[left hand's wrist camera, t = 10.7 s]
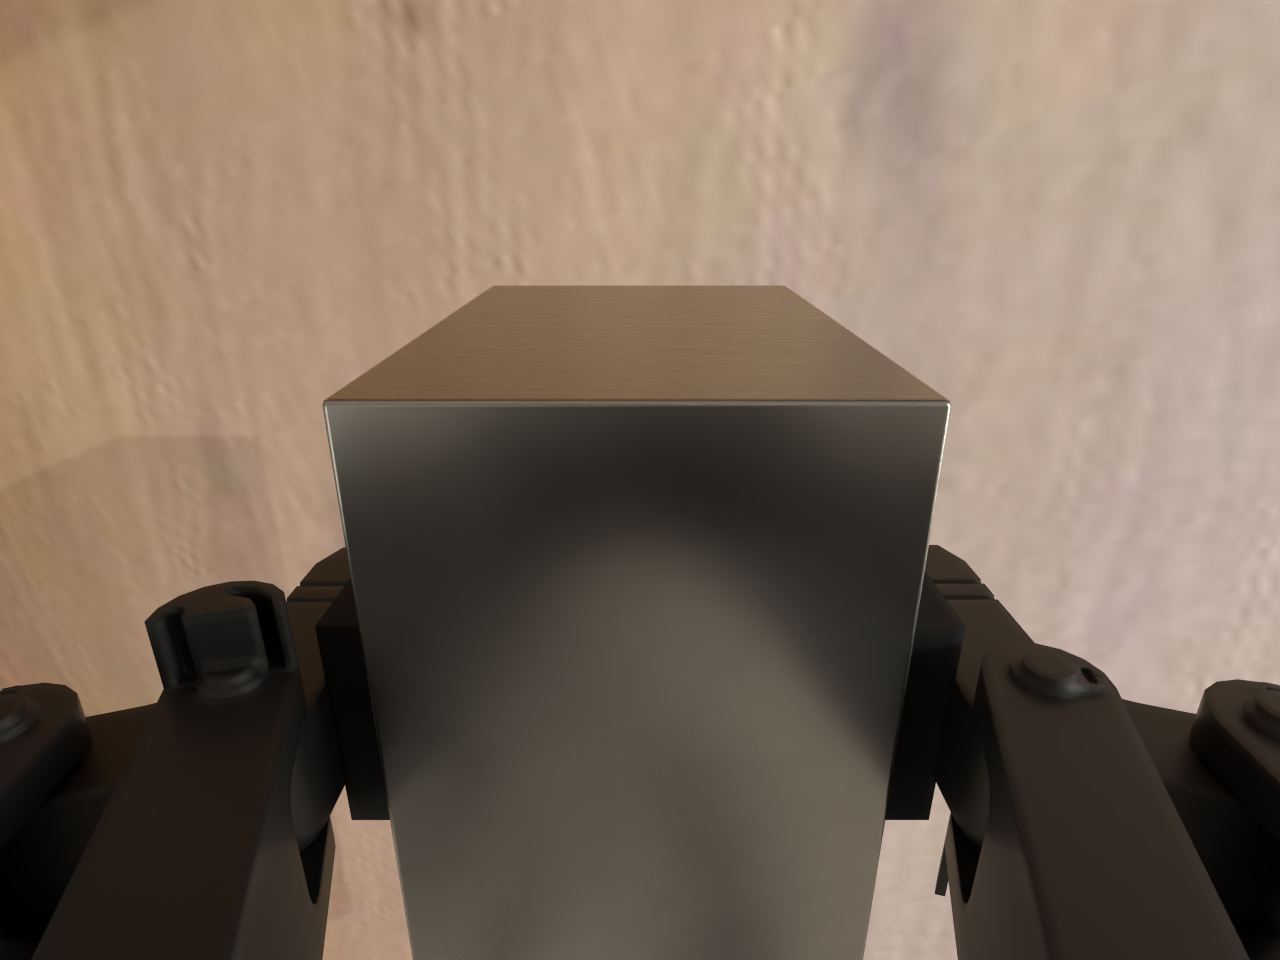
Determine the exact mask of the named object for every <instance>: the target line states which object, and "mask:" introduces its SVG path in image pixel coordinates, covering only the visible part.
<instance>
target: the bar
mask: <svg viewBox="0 0 1280 960" xmlns="http://www.w3.org/2000/svg"><path fill="white" fill-rule="evenodd" d="M950 408H951V404H950V401H949V400H948V399H947V398H945V397H944V396H942V395H941V394H939V393H938V392H937V391H935V390H934V389H932V388H931V387H929V386H928V385H926V384H925V383H924V382H922V381H921V380H919V379H918V378H916V377H915V376H914V375H912V374H911V373H909V372H908V371H906V370H905V369H904V368H902V367H901V366H899V365H898V364H896V363H895V362H894V361H892V360H891V359H889V358H888V357H886V356H885V355H883V354H882V353H881V352H879V351H878V350H876V349H875V348H873V347H872V346H871V345H869V344H868V343H866V342H865V341H863V340H862V339H861V338H859V337H858V336H856V335H855V334H853V333H852V332H850V331H849V330H848V329H846V328H845V327H843V326H842V325H840V324H839V323H838V322H836V321H835V320H833V319H832V318H830V317H829V316H828V315H826V314H825V313H823V312H822V311H820V310H819V309H818V308H816V307H815V306H813V305H812V304H810V303H809V302H807V301H806V300H805V299H803V298H802V297H800V296H799V295H797V294H796V293H795V292H793V291H792V290H790V289H789V288H787V287H786V286H492V287H491V288H489V289H488V290H486V291H485V292H483V293H482V294H480V295H479V296H477V297H476V298H475V299H473V300H472V301H470V302H469V303H467V304H466V305H464V306H463V307H461V308H460V309H458V310H457V311H455V312H454V313H452V314H451V315H449V316H448V317H447V318H445V319H444V320H442V321H441V322H439V323H438V324H436V325H435V326H433V327H432V328H430V329H429V330H427V331H426V332H424V333H423V334H421V335H420V336H419V337H417V338H416V339H414V340H413V341H411V342H410V343H408V344H407V345H405V346H404V347H402V348H401V349H399V350H398V351H396V352H395V353H393V354H392V355H391V356H389V357H388V358H386V359H385V360H383V361H382V362H380V363H379V364H377V365H376V366H374V367H373V368H371V369H370V370H368V371H367V372H365V373H364V374H362V375H361V376H360V377H358V378H357V379H355V380H354V381H352V382H351V383H349V384H348V385H346V386H345V387H343V388H342V389H340V390H339V391H337V392H336V393H334V394H333V395H332V396H330V397H329V398H327V399H326V400H324V402H323V411H324V417H325V423H326V429H327V436H328V442H329V448H330V454H331V460H332V466H333V472H334V479H335V485H336V491H337V497H338V503H339V509H340V515H341V521H342V528H343V534H344V540H345V546H346V552H347V558H348V564H349V571H350V577H351V583H352V589H353V595H354V601H355V607H356V613H357V620H358V626H359V632H360V638H361V644H362V650H363V656H364V663H365V669H366V675H367V681H368V687H369V693H370V699H371V706H372V712H373V718H374V724H375V730H376V736H377V742H378V748H379V755H380V761H381V767H382V773H383V779H384V785H385V791H386V798H387V804H388V810H389V816H390V822H391V828H392V834H393V841H394V847H395V853H396V859H397V865H398V871H399V877H400V883H401V890H402V896H403V902H404V908H405V914H406V920H407V926H408V933H409V939H410V945H411V951H412V957H413V960H863V956H864V950H865V943H866V937H867V931H868V924H869V918H870V912H871V906H872V899H873V893H874V887H875V880H876V874H877V868H878V862H879V855H880V849H881V843H882V836H883V830H884V824H885V817H886V811H887V805H888V799H889V792H890V786H891V780H892V773H893V767H894V761H895V754H896V748H897V742H898V736H899V729H900V723H901V717H902V710H903V704H904V698H905V692H906V685H907V679H908V673H909V666H910V660H911V654H912V647H913V641H914V635H915V629H916V622H917V616H918V610H919V603H920V597H921V591H922V585H923V578H924V572H925V566H926V559H927V553H928V547H929V540H930V534H931V528H932V522H933V515H934V509H935V503H936V496H937V490H938V484H939V477H940V471H941V465H942V459H943V452H944V446H945V440H946V433H947V427H948V421H949V415H950Z"/></svg>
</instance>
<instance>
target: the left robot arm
mask: <svg viewBox="0 0 1280 960" xmlns="http://www.w3.org/2000/svg"><path fill="white" fill-rule="evenodd" d="M145 625H146V629H147V632H148V636H149V639H150V642H151V646H152V649H153V653H154V656H155V660H156V663H157V667H158V670H159V673H160V677H161V680H162V684H163V687H164V690H163V692H162V694H161V696H160V698H159V700H158V702H157V703H154V704H150V705H146V706H141V707H136V708H131V709H126V710H121V711H116V712H110V713H105V714H100V715H95V716H90V717H85V715H84V712H83V709H82V706H81V703H80V700H79V698H78V695H77V693H76V692H74V691H73V690H72V689H70V688H69V687H67V686H66V685H59V684H51V683H39V684H31V685H23V686H13V687H9V688H4V689H2V691H0V960H322V957H323V949H324V940H325V932H326V923H327V915H328V906H329V898H330V889H331V880H332V872H333V863H334V855H335V840H334V834H333V828H332V824H331V819H330V814H331V812H332V810H333V808H334V806H335V804H336V802H337V800H338V798H339V796H340V794H341V792H342V790H343V787H344V785H345V786H346V792H347V797H348V802H349V807H350V813H351V818H352V820H390V816H389V810H388V804H387V798H386V791H385V785H384V779H383V773H382V767H381V761H380V755H379V748H378V742H377V736H376V730H375V724H374V718H373V712H372V706H371V699H370V693H369V687H368V681H367V675H366V669H365V663H364V656H363V650H362V644H361V638H360V632H359V626H358V620H357V613H356V607H355V601H354V595H353V589H352V583H351V577H350V571H349V564H348V558H347V552H346V548H342V549H340V550H338V551H337V552H335V553H333V554H332V555H330V556H328V557H327V558H325V559H323V560H322V561H320V562H318V563H316V564H315V566H314V567H313V568H312V569H311V570H310V572H309V573H308V574H307V575H306V576H305V577H304V579H303V580H302V581H301V582H300V586H297V587H296V588H295V589H294V590H293V592H292V593H291V594H290V595H289V596H288V598H287V602H286V599H285V595H284V592H283V591H282V590H280V589H279V588H278V587H276V586H275V585H273V584H269V583H264V582H258V581H234V582H226V583H221V584H216V585H211V586H206V587H203V588H200V589H197V590H194V591H192V592H189V593H186V594H183V595H181V596H178V597H177V598H175V599H173V600H171V601H170V602H168V603H166V604H164V605H163V606H161V607H159V608H158V609H157V610H156V611H155V612H154V613H153V614H152V615H151V616H150V617H149V618H148V619H147V620H146V621H145ZM936 783H937V785H938V787H939V789H940V791H941V793H942V795H943V797H944V799H945V801H946V803H947V805H948V807H949V809H950V811H951V814H950V819H949V824H948V828H947V833H946V838H945V843H944V848H943V853H942V858H941V862H940V867H939V872H938V877H937V883H936V889H935V894H937V895H942V896H945V893H946V889H947V884H948V881H949V887H950V896H951V904H952V913H953V921H954V930H955V938H956V947H957V955H958V960H1280V686H1279V685H1275V684H1270V683H1266V682H1254V681H1246V680H1238V679H1237V680H1229V681H1220V682H1216V683H1214V684H1213V685H1211V686H1210V687H1208V688H1207V689H1206V690H1205V691H1204V694H1203V697H1202V700H1201V703H1200V705H1199V708H1198V711H1197V714H1192V713H1187V712H1182V711H1177V710H1172V709H1167V708H1162V707H1156V706H1151V705H1146V704H1141V703H1136V702H1132V701H1128V700H1124V699H1121V696H1120V694H1119V692H1118V690H1117V688H1116V687H1115V686H1114V684H1113V683H1112V682H1111V681H1110V680H1109V678H1108V677H1107V676H1106V675H1105V673H1103V672H1102V671H1101V670H1099V669H1098V668H1096V667H1095V666H1093V665H1092V664H1090V663H1089V662H1087V661H1086V660H1084V659H1082V658H1080V657H1077V656H1075V655H1073V654H1070V653H1068V652H1066V651H1063V650H1061V649H1057V648H1053V647H1049V646H1044V645H1040V644H1036V643H1034V642H1033V641H1032V639H1031V638H1030V637H1029V636H1028V635H1027V633H1026V632H1025V631H1024V630H1023V629H1022V628H1021V626H1020V625H1019V624H1018V623H1017V622H1016V621H1015V619H1014V618H1013V617H1012V616H1011V615H1010V614H1009V612H1008V611H1007V610H1006V609H1005V608H1004V606H1003V605H1002V604H1001V603H1000V602H999V601H998V600H994V595H993V594H992V592H991V591H990V590H989V589H988V588H987V587H986V585H985V584H981V579H980V578H979V577H978V576H977V575H976V574H975V572H974V571H973V570H972V569H971V568H970V567H969V565H968V564H967V563H966V562H965V561H964V560H962V559H960V558H959V557H957V556H955V555H954V554H952V553H950V552H948V551H947V550H945V549H943V548H942V547H940V546H938V545H929V547H928V553H927V559H926V566H925V572H924V578H923V585H922V591H921V597H920V603H919V610H918V616H917V622H916V629H915V635H914V641H913V647H912V654H911V660H910V666H909V673H908V679H907V685H906V692H905V698H904V704H903V710H902V717H901V723H900V729H899V736H898V742H897V748H896V754H895V761H894V767H893V773H892V780H891V786H890V792H889V799H888V805H887V811H886V817H885V820H929V815H930V810H931V805H932V800H933V794H934V789H935V784H936Z"/></svg>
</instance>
